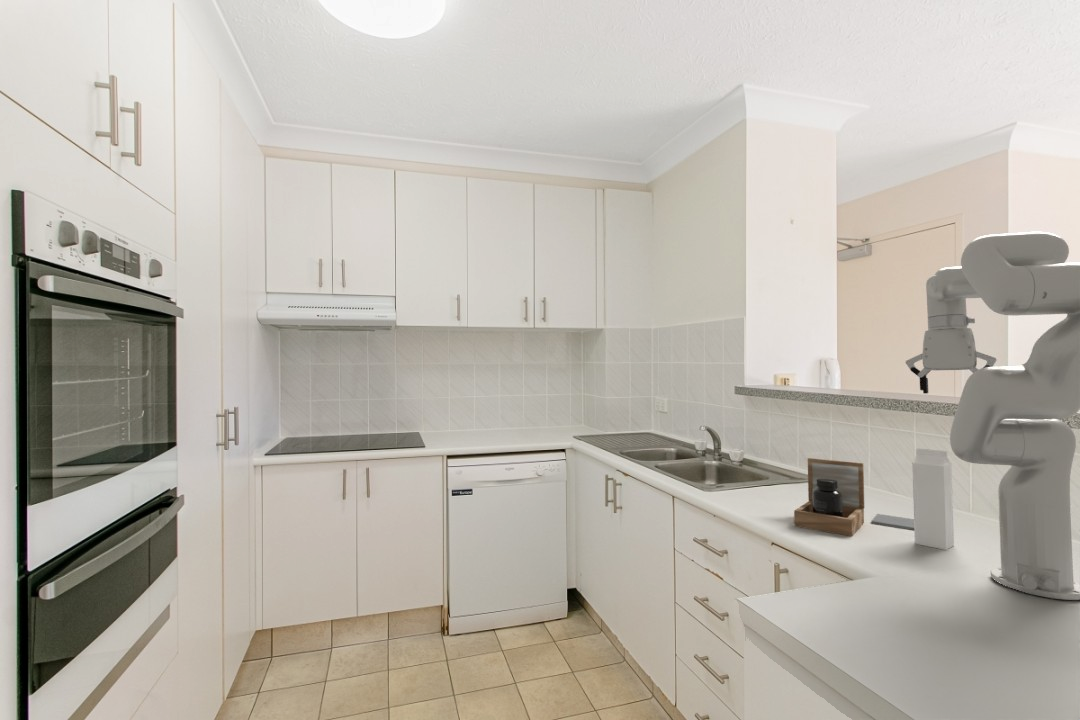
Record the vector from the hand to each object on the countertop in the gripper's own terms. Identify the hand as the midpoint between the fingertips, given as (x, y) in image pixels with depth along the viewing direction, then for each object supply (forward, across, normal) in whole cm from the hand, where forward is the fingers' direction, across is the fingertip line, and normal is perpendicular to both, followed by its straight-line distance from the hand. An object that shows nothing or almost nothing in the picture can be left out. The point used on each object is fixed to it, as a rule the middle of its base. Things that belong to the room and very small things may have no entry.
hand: (950, 393), depth 122 cm
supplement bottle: (+35, +26, +9) cm, 44 cm away
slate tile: (+35, +13, -8) cm, 38 cm away
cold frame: (+35, +26, +7) cm, 44 cm away
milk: (+36, +4, +8) cm, 37 cm away
